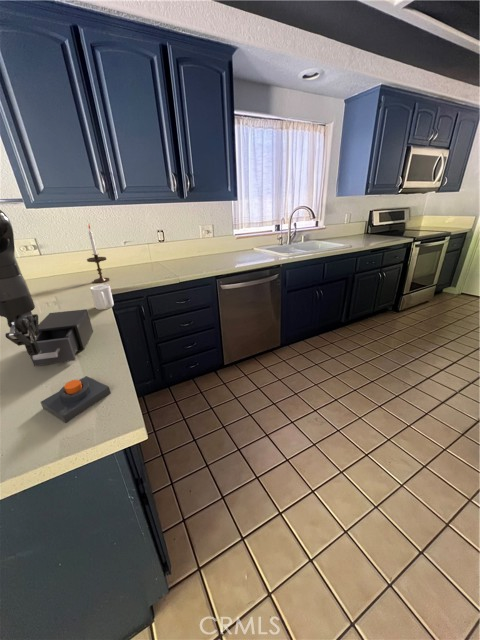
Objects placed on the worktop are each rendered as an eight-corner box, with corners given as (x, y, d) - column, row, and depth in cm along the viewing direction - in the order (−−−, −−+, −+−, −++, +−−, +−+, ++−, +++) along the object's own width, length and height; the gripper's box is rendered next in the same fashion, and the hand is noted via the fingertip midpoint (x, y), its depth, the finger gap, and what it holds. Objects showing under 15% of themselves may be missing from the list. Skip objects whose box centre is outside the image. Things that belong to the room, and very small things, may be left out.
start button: (71, 396, 65) (69, 390, 64) (63, 391, 66) (61, 386, 66) (85, 387, 68) (83, 382, 67) (77, 383, 69) (75, 378, 69)
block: (65, 423, 62) (60, 410, 60) (43, 408, 66) (37, 396, 64) (110, 393, 71) (107, 381, 69) (88, 382, 76) (84, 370, 74)
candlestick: (103, 277, 177) (90, 222, 162) (114, 279, 172) (102, 222, 158) (88, 282, 168) (73, 224, 153) (100, 284, 164) (85, 224, 149)
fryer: (84, 349, 92) (76, 325, 88) (42, 355, 89) (33, 330, 85) (93, 331, 105) (87, 309, 101) (57, 335, 102) (49, 312, 98)
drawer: (70, 367, 81) (63, 345, 77) (27, 374, 78) (18, 351, 75) (85, 340, 96) (79, 321, 93) (49, 345, 93) (42, 325, 90)
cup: (113, 302, 134) (108, 283, 130) (115, 310, 125) (111, 289, 120) (95, 305, 130) (90, 285, 126) (96, 313, 121) (91, 292, 117)
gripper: (6, 287, 70) (29, 344, 77) (-25, 305, 58) (6, 370, 65) (38, 284, 71) (58, 340, 79) (15, 301, 60) (41, 365, 67)
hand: (34, 354), depth 72 cm, fingers closed
